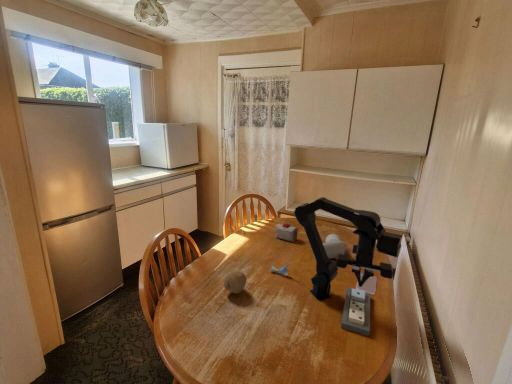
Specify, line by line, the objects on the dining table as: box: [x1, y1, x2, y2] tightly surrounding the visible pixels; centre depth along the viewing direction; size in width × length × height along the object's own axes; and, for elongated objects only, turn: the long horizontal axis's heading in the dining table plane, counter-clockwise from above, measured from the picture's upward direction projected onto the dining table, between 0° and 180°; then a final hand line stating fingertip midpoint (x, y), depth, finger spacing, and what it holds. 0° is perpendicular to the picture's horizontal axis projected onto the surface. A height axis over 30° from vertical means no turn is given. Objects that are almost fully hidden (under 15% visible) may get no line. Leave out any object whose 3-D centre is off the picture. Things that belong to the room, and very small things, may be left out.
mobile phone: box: [355, 272, 378, 295], centre depth 115 cm, size 8×1×15 cm
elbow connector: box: [312, 233, 347, 260], centre depth 138 cm, size 18×10×20 cm
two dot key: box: [347, 307, 365, 326], centre depth 91 cm, size 5×5×2 cm
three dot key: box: [349, 300, 364, 312], centre depth 97 cm, size 5×5×2 cm
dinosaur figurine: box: [269, 259, 293, 277], centre depth 118 cm, size 2×13×8 cm
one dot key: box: [350, 288, 365, 303], centre depth 102 cm, size 5×5×2 cm
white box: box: [274, 222, 299, 243], centre depth 157 cm, size 14×8×10 cm, turn 59°
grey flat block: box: [340, 287, 371, 337], centre depth 97 cm, size 22×9×2 cm, turn 157°
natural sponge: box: [223, 269, 247, 295], centre depth 105 cm, size 9×9×10 cm
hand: (360, 286), depth 94 cm, fingers closed
